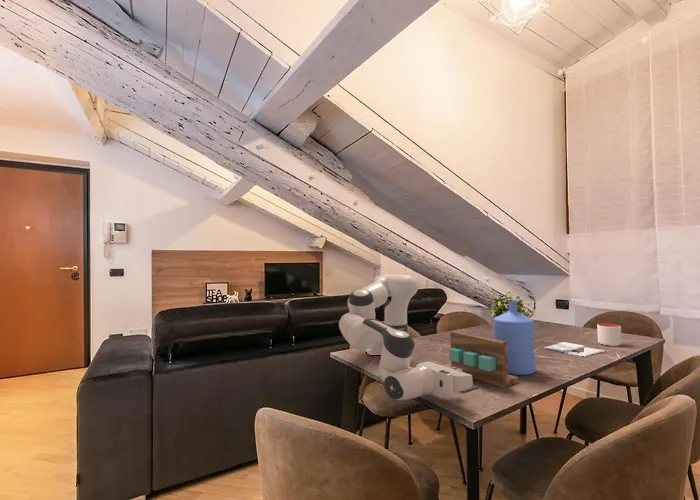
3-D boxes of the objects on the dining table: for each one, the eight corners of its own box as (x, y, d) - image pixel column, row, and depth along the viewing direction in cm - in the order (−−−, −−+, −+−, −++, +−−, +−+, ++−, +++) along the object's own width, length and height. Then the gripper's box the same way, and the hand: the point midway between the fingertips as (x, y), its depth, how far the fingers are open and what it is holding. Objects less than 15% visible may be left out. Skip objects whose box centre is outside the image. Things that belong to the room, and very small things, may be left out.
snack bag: (565, 345, 192) (565, 340, 192) (607, 353, 174) (607, 348, 174) (542, 349, 183) (542, 345, 183) (584, 359, 165) (584, 354, 165)
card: (463, 392, 126) (463, 390, 126) (433, 381, 138) (433, 379, 138) (478, 388, 130) (478, 385, 130) (448, 377, 142) (448, 375, 142)
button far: (458, 362, 142) (458, 351, 142) (449, 360, 146) (449, 349, 146) (470, 359, 146) (469, 348, 146) (461, 357, 150) (461, 346, 150)
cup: (626, 346, 184) (625, 326, 184) (606, 347, 184) (605, 327, 184) (612, 342, 194) (611, 323, 194) (593, 342, 194) (592, 323, 194)
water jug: (516, 378, 140) (514, 305, 141) (486, 367, 154) (484, 301, 155) (544, 372, 146) (542, 302, 147) (513, 362, 160) (511, 298, 161)
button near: (489, 371, 130) (488, 359, 130) (478, 368, 134) (478, 356, 134) (501, 367, 134) (500, 355, 134) (490, 365, 138) (490, 353, 138)
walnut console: (503, 387, 130) (502, 342, 130) (451, 371, 150) (450, 332, 151) (518, 382, 135) (517, 339, 135) (466, 367, 155) (465, 329, 155)
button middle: (473, 366, 136) (472, 354, 136) (463, 364, 140) (463, 352, 140) (485, 363, 140) (484, 352, 140) (475, 360, 144) (475, 349, 144)
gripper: (408, 379, 126) (436, 371, 134) (454, 397, 109) (484, 387, 117) (408, 360, 126) (436, 354, 134) (453, 376, 109) (483, 368, 117)
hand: (459, 370), depth 125 cm, fingers closed
